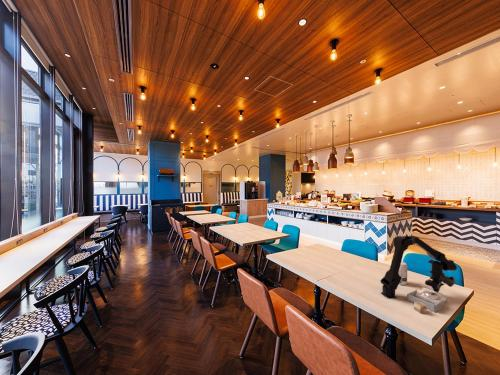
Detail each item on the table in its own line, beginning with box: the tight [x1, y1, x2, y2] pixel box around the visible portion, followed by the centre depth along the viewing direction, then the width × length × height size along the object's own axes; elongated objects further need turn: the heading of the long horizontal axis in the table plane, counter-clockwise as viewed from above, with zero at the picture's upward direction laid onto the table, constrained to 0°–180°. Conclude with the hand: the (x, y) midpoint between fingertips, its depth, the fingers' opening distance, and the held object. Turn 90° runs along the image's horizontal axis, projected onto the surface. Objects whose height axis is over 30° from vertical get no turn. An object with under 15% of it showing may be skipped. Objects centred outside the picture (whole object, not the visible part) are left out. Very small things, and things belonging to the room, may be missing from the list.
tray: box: [415, 287, 448, 304], centre depth 131 cm, size 12×12×4 cm
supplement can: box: [399, 261, 408, 286], centre depth 153 cm, size 8×8×15 cm
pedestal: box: [413, 302, 428, 314], centre depth 119 cm, size 4×4×4 cm
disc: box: [424, 291, 438, 300], centre depth 131 cm, size 7×7×2 cm
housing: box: [406, 289, 445, 313], centre depth 127 cm, size 12×14×4 cm
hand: (436, 293), depth 135 cm, fingers closed
